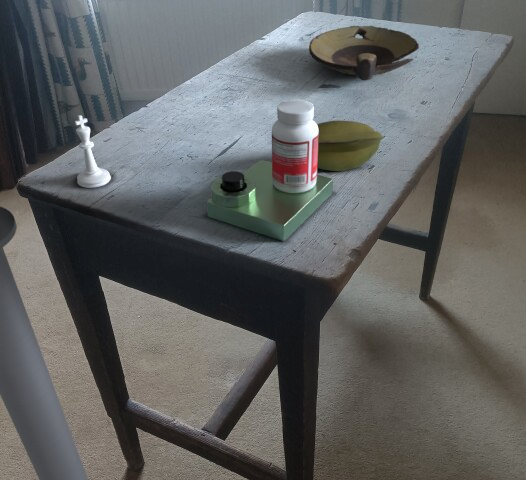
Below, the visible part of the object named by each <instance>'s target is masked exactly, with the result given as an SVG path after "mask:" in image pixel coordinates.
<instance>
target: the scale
mask: <svg viewBox="0 0 526 480" xmlns="http://www.w3.org/2000/svg"><path fill="white" fill-rule="evenodd" d="M243 174H244V180H245V189H244V190H243V191H240V192H226V191H224V190H223V189H222V176H221V177H218V178H217V179H215V180H214V181H213V182H212V183H211V187H210V193H211V194H210V195H211V197H210V198H209V199H208V200H207V201H206V210H207V211H206V212H207V217H208V218H211V219H214V220H217V221H221V222H223V223H226V224H229V225H233V226H235V227H238V228H242V229H244V230H248V231H251V232H254V233H256V234H260V235H262V236H266V237H269V238H272V239H274V240H278V241H282V242H285V241H286V240H287V239H288V238H289V237H290V236H291V235H292V234H293V233H294V232H295V231H296V230H297V229H298V228H299V227H300V226H301V225H302V224H303V223H304V222H305V221H306V220H307V219H308V218H309V217H310V216H311V215H313V213H314V212H315V211H316V210H317V209H318V208H320V207H321V205H323V204H324V203H325V201H327V199H328V198H330V197H331V195H332V194H333V190H334V189H333V188H334V178H331V177H328V176H324V175H320V174H317V180H316V184H315V186H314V187H313V188H312V189H310V190H308V191H305V192H302V193H286V192H283V191H280V190H279V189H277V188H276V187H275V186H274V185H273V181H272V161H267V160H263V159H260V160H259V161H257V162H256V163H255V164H253V165H252V166H251V167H249V168H248V169H247V170H245V171H244V172H243Z"/></svg>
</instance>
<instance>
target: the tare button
mask: <svg viewBox="0 0 526 480" xmlns="http://www.w3.org/2000/svg"><path fill="white" fill-rule="evenodd" d="M243 173H244V172H243ZM243 173H242V172H241V171H237V170H230V171H227V172H224V173H223V174H222V175H221V177H222V189H223V190H224V191H226V192H240V191H243V190H244V189H245V180H244V174H243Z"/></svg>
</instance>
